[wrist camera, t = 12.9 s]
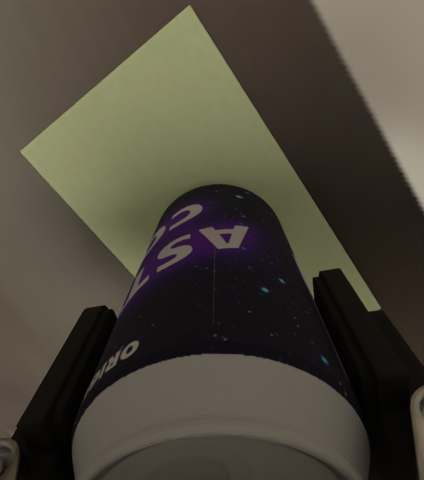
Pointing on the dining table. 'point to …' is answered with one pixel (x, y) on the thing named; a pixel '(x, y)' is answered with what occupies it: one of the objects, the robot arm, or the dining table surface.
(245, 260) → the beverage can
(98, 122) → the side mat
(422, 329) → the dining table surface
